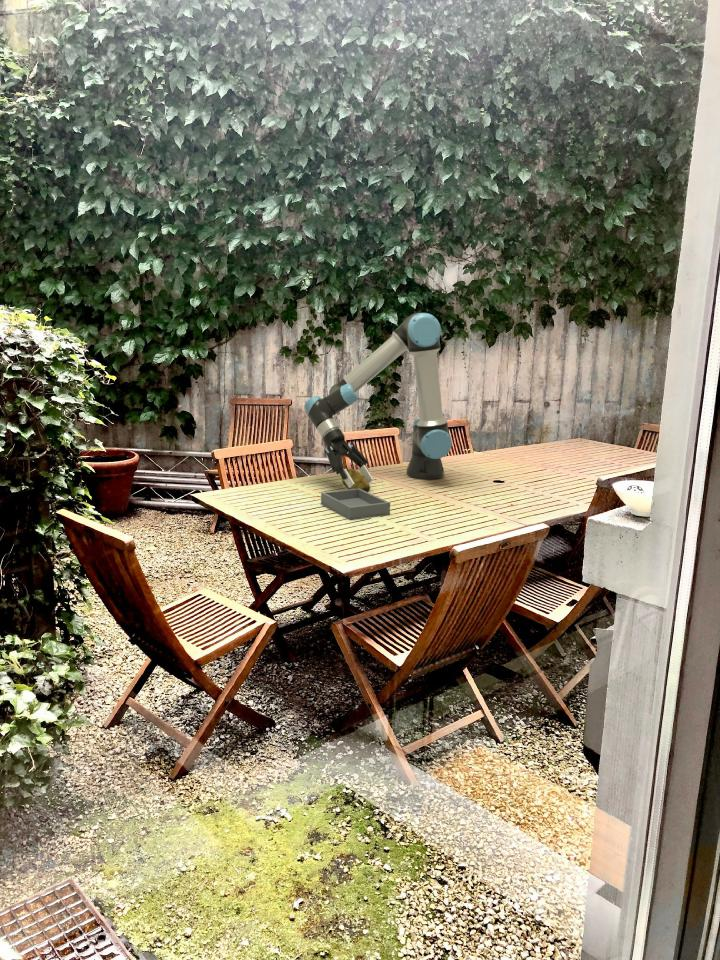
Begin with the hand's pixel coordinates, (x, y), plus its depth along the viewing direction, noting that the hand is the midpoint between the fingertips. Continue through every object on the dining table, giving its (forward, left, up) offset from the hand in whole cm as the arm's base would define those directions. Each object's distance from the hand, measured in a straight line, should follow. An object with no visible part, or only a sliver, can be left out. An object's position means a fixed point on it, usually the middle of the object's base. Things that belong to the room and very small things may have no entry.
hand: (361, 483), depth 254 cm
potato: (-3, -1, -4) cm, 5 cm away
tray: (+16, -12, -4) cm, 20 cm away
